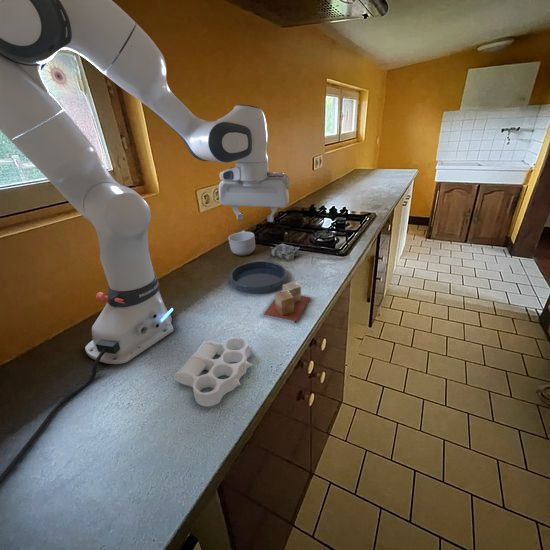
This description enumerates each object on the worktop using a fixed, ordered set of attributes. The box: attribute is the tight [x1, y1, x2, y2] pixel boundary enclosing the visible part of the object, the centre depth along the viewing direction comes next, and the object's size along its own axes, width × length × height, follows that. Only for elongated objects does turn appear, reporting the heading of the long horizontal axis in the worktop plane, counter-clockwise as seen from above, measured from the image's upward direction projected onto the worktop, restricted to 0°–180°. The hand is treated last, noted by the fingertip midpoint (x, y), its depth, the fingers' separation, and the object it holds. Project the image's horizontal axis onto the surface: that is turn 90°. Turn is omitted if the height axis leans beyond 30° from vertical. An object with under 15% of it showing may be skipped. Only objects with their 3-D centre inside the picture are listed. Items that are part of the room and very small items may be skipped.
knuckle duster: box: [173, 337, 254, 408], centre depth 67 cm, size 3×18×15 cm
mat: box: [263, 291, 311, 324], centre depth 90 cm, size 13×10×1 cm
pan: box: [229, 260, 288, 295], centre depth 105 cm, size 19×19×3 cm
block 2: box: [274, 291, 294, 315], centre depth 87 cm, size 4×4×5 cm
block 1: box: [282, 281, 302, 303], centre depth 91 cm, size 4×4×5 cm
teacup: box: [227, 230, 256, 257], centre depth 127 cm, size 14×11×8 cm
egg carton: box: [269, 243, 300, 260], centre depth 123 cm, size 11×8×4 cm
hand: (255, 220), depth 90 cm, fingers open, 8 cm apart
